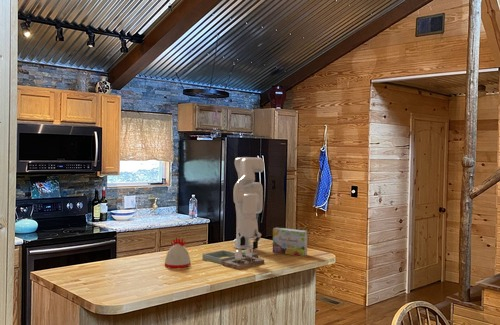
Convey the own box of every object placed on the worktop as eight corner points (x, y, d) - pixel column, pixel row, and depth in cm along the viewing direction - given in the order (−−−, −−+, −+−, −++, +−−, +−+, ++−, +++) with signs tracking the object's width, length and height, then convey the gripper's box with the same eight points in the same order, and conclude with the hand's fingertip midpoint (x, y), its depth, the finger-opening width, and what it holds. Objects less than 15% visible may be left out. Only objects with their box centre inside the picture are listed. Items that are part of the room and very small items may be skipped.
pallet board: (222, 267, 261) (222, 261, 261) (248, 261, 276) (248, 256, 276) (238, 271, 253) (238, 265, 253) (264, 265, 267) (264, 259, 267)
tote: (202, 260, 276) (202, 254, 276) (223, 256, 288) (223, 250, 288) (221, 265, 265) (221, 259, 265) (242, 260, 276) (242, 254, 276)
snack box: (272, 252, 300) (272, 228, 299) (275, 251, 305) (276, 227, 304) (304, 256, 290) (304, 231, 289) (307, 254, 295) (308, 230, 294)
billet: (243, 262, 267) (243, 248, 267) (248, 261, 270) (249, 247, 270) (248, 264, 264) (249, 249, 264) (253, 263, 267) (254, 248, 267)
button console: (236, 258, 282) (236, 253, 282) (247, 256, 288) (247, 251, 288) (247, 261, 276) (247, 256, 276) (258, 258, 282) (258, 253, 282)
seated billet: (233, 265, 261) (233, 250, 261) (238, 264, 264) (238, 249, 264) (238, 266, 259) (238, 251, 258) (243, 265, 262) (243, 250, 261)
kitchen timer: (185, 269, 256) (185, 240, 256) (160, 267, 259) (161, 239, 259) (193, 263, 270) (194, 236, 269) (170, 261, 273) (170, 235, 272)
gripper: (233, 214, 270) (233, 245, 271) (256, 219, 258) (255, 250, 259) (243, 213, 275) (242, 243, 276) (265, 217, 263) (265, 248, 264)
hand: (248, 246), depth 268 cm, fingers open, 9 cm apart
